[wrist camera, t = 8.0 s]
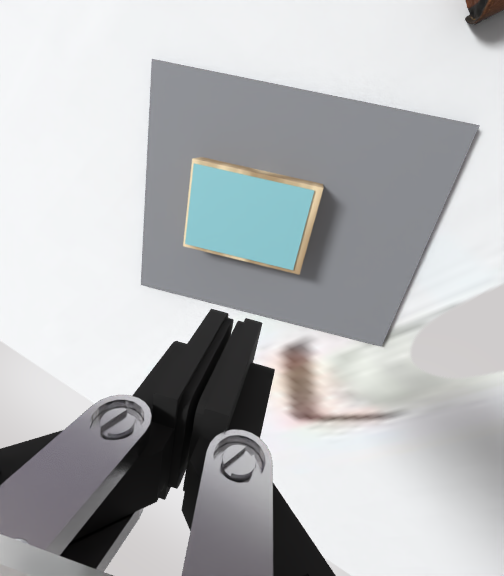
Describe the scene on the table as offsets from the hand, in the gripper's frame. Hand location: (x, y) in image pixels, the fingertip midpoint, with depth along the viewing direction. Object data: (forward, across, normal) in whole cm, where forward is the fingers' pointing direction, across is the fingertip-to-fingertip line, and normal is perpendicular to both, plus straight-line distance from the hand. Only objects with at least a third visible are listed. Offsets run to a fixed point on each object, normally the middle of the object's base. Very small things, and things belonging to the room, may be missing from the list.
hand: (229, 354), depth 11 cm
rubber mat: (+20, +1, 0) cm, 20 cm away
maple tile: (+18, -2, 0) cm, 18 cm away
